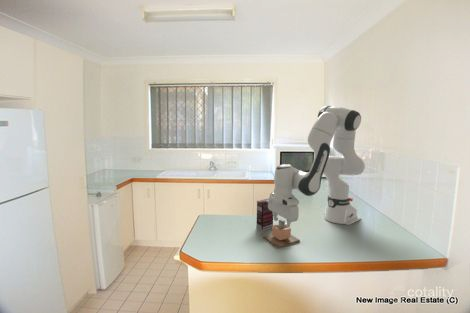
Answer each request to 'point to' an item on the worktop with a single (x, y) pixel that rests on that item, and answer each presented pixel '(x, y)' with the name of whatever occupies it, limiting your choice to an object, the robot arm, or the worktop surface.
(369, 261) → the worktop surface
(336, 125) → the robot arm
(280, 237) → the ring
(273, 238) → the post board
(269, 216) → the supplement box
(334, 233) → the worktop surface
